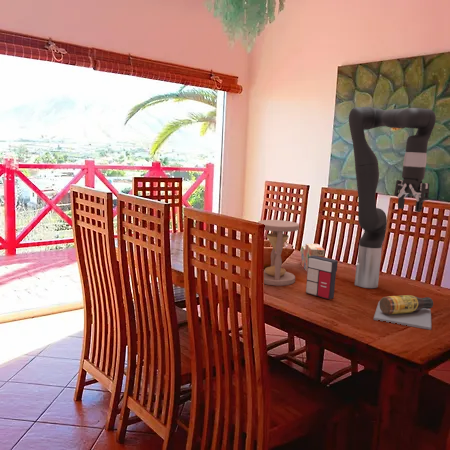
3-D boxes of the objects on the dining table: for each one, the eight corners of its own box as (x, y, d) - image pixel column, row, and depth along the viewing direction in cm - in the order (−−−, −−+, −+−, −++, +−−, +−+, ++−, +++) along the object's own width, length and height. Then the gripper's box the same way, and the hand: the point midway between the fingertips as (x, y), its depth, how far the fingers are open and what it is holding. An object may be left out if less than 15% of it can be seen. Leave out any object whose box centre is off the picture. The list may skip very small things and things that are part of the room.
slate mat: (373, 319, 157) (373, 317, 157) (378, 302, 176) (379, 300, 175) (431, 329, 150) (431, 327, 150) (430, 311, 169) (430, 309, 169)
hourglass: (294, 287, 191) (298, 227, 186) (252, 283, 193) (255, 224, 189) (295, 276, 208) (299, 221, 204) (256, 272, 211) (260, 218, 206)
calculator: (304, 293, 183) (307, 256, 181) (310, 291, 186) (313, 254, 184) (328, 300, 176) (332, 262, 174) (334, 298, 179) (338, 260, 177)
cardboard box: (300, 263, 232) (301, 239, 230) (312, 264, 233) (314, 240, 231) (309, 275, 211) (311, 248, 209) (322, 275, 211) (324, 249, 209)
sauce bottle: (385, 293, 159) (430, 289, 166) (375, 301, 164) (419, 297, 171) (393, 311, 156) (438, 305, 163) (383, 318, 160) (427, 313, 168)
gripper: (437, 166, 161) (432, 213, 164) (408, 164, 174) (403, 207, 177) (421, 166, 158) (415, 213, 161) (392, 164, 171) (387, 207, 174)
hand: (409, 210), depth 169 cm, fingers open, 8 cm apart
